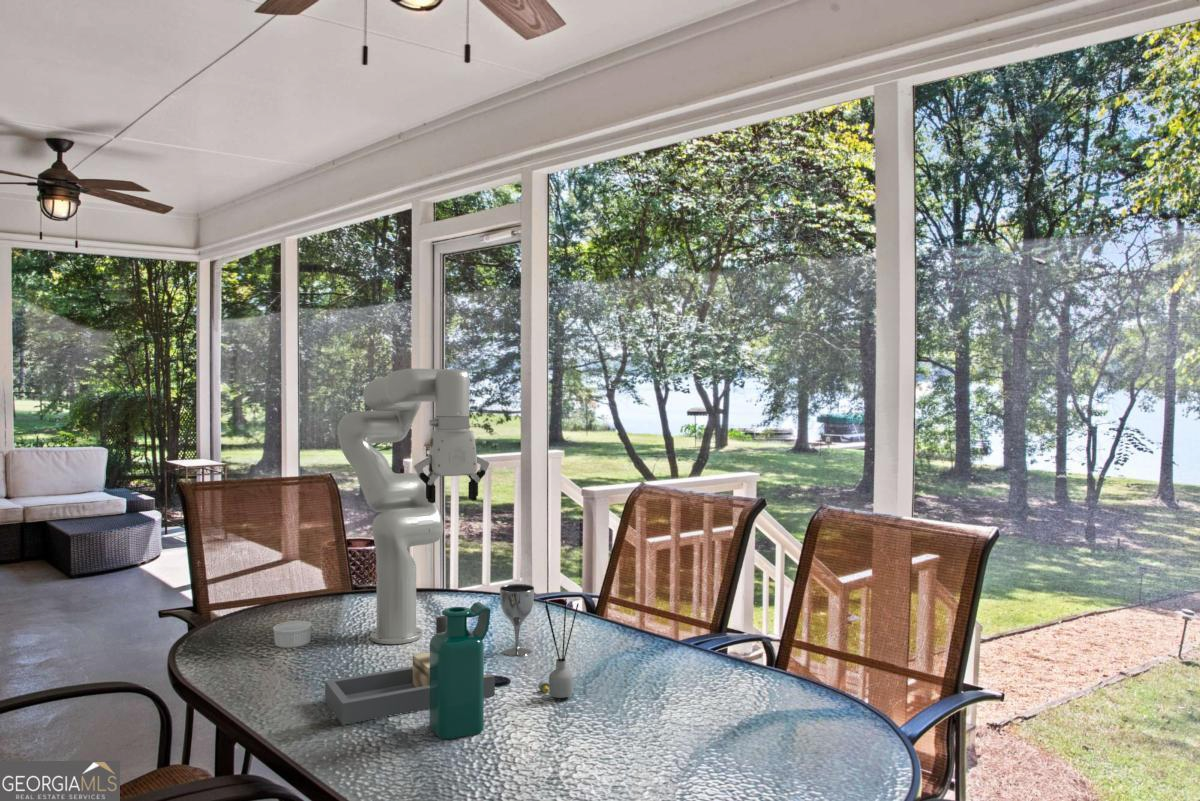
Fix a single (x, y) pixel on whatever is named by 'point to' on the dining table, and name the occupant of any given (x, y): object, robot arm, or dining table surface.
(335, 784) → the dining table surface
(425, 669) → the rubber stamp
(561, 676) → the reed diffuser
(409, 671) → the bay
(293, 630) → the ramekin
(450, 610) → the pitcher
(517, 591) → the wine glass
